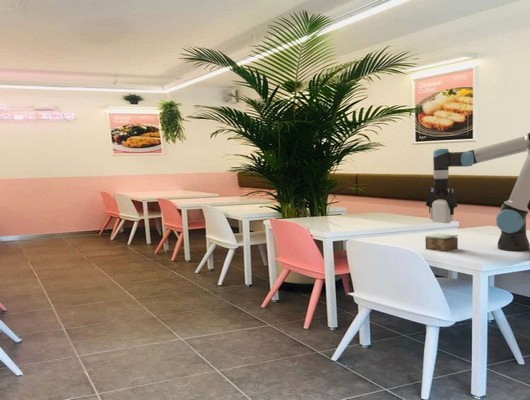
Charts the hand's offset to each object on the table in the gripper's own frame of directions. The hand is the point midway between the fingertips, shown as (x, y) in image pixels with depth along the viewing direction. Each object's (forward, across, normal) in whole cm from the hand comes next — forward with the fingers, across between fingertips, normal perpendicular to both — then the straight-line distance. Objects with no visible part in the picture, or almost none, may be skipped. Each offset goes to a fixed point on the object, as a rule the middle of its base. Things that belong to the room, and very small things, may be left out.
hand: (441, 220), depth 268 cm
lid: (+9, 0, 0) cm, 9 cm away
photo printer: (+2, 0, 0) cm, 2 cm away
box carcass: (+15, 0, 0) cm, 15 cm away
